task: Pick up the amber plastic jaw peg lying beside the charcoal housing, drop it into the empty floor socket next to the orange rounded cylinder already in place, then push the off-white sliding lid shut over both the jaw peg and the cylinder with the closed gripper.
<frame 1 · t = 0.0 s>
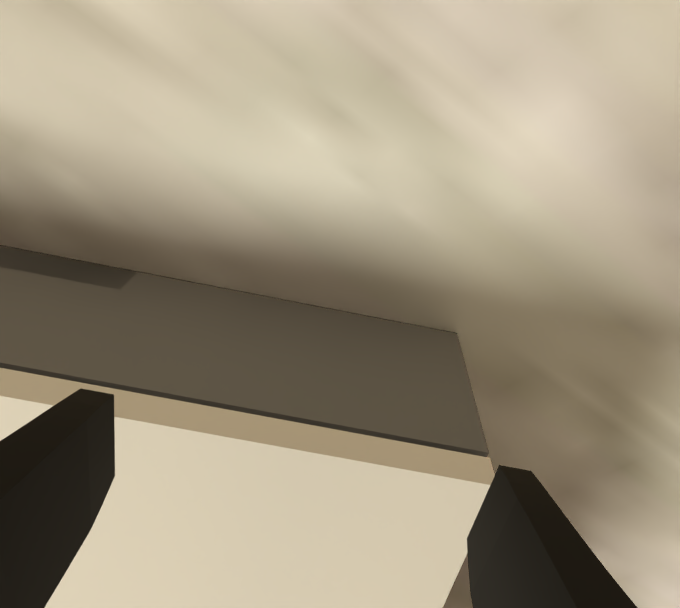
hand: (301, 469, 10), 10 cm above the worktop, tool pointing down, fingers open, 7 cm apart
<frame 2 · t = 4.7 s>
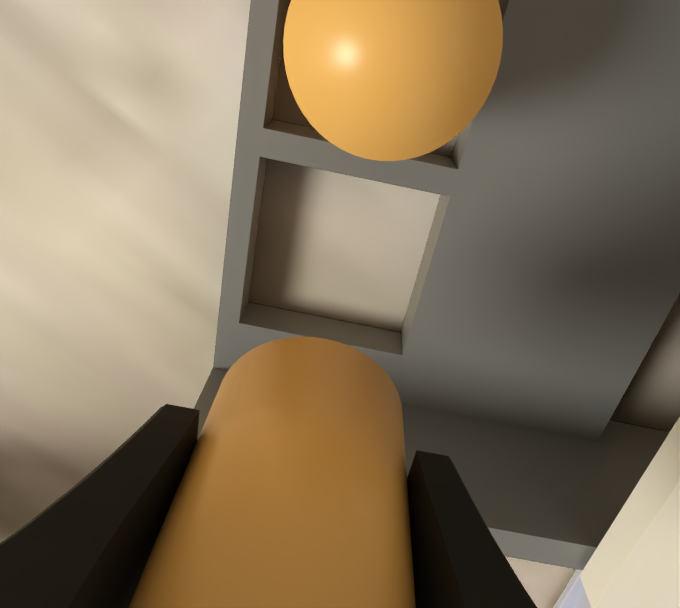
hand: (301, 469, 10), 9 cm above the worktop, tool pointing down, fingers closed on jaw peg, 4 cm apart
jaw peg: (309, 415, 12), point 8 cm above the worktop, touching gripper
orange rounded cylinder: (383, 38, 15), resting in housing
housing: (469, 175, 17), on the worktop
when the fingers open (3 cm above the worktop, at t = 6.5 s): jaw peg stays where it is, resting in housing.
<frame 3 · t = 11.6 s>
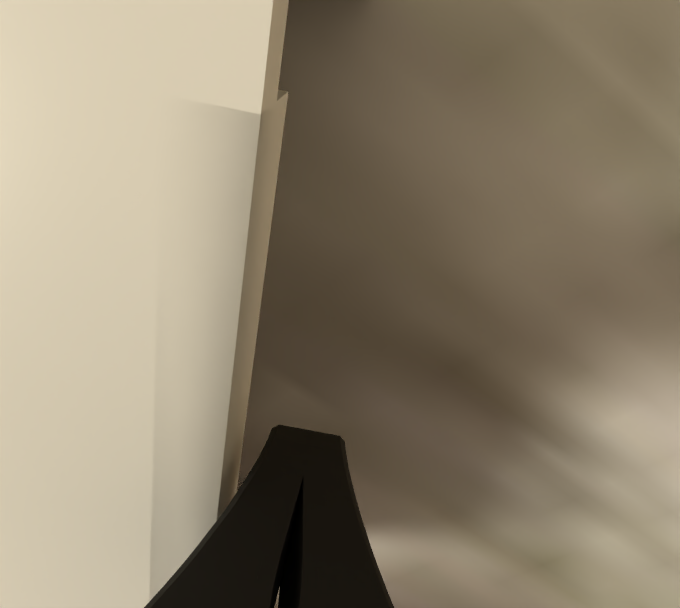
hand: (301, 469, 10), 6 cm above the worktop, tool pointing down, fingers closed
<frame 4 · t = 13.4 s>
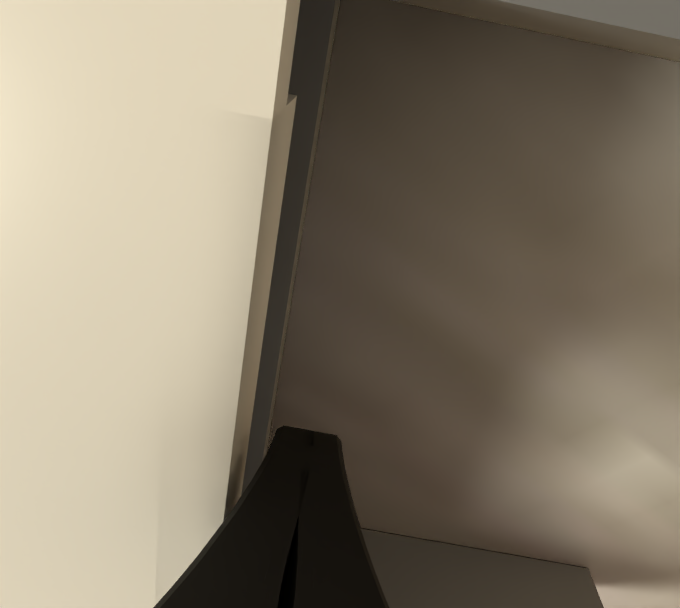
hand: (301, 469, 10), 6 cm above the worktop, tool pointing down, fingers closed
housing: (39, 266, 15), on the worktop
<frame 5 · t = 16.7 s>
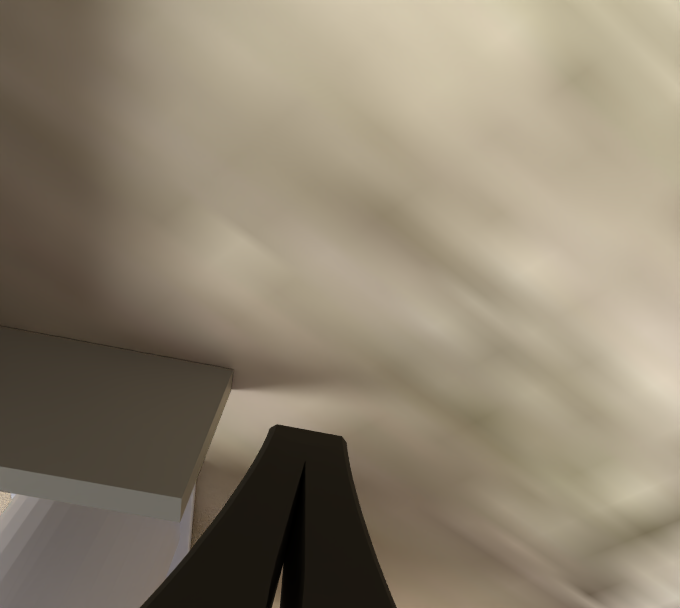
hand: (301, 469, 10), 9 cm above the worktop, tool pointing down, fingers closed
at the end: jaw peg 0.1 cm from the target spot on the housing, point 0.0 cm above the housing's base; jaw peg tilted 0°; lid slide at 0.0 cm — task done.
